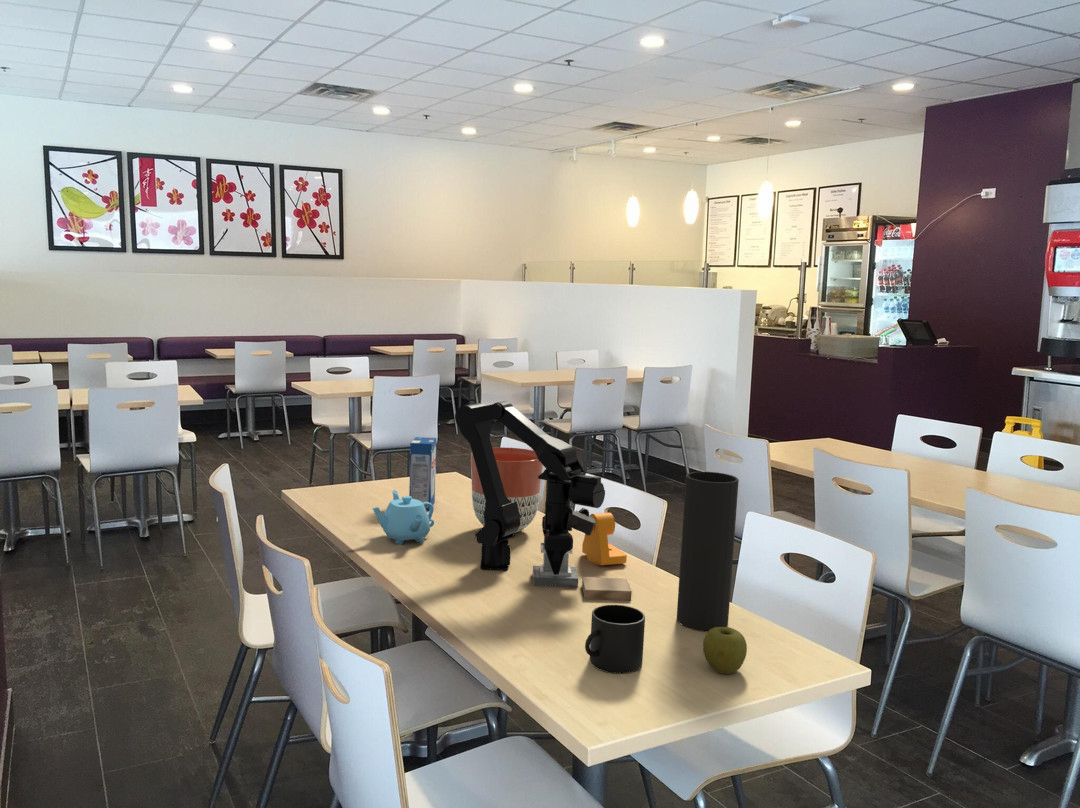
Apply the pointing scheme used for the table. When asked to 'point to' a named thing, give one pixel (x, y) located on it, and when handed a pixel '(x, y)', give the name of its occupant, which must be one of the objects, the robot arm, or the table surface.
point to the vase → (707, 550)
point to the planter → (512, 482)
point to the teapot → (405, 519)
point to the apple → (724, 649)
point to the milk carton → (423, 470)
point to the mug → (616, 638)
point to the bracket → (602, 542)
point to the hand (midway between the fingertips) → (555, 567)
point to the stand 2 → (606, 588)
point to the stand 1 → (555, 579)
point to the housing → (546, 566)
